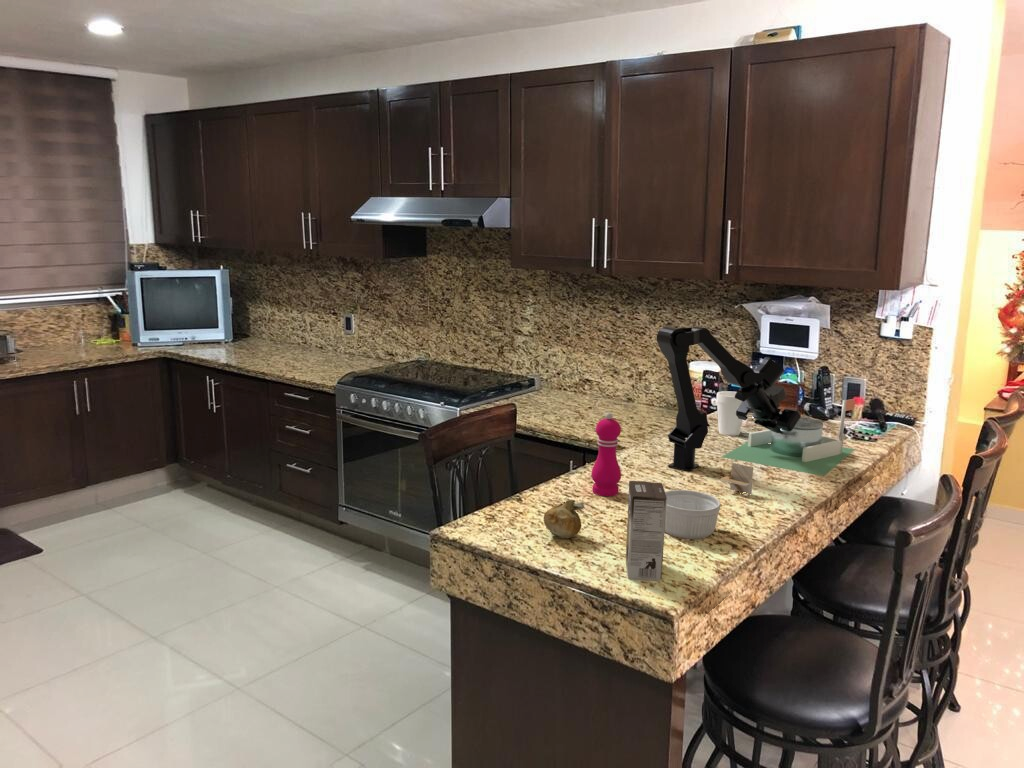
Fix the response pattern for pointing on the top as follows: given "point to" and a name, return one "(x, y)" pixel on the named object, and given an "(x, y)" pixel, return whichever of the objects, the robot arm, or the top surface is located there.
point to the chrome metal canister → (797, 437)
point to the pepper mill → (606, 458)
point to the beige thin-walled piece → (816, 451)
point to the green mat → (786, 459)
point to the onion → (564, 519)
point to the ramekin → (690, 514)
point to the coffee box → (645, 530)
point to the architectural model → (740, 478)
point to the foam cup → (728, 413)
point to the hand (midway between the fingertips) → (778, 431)
